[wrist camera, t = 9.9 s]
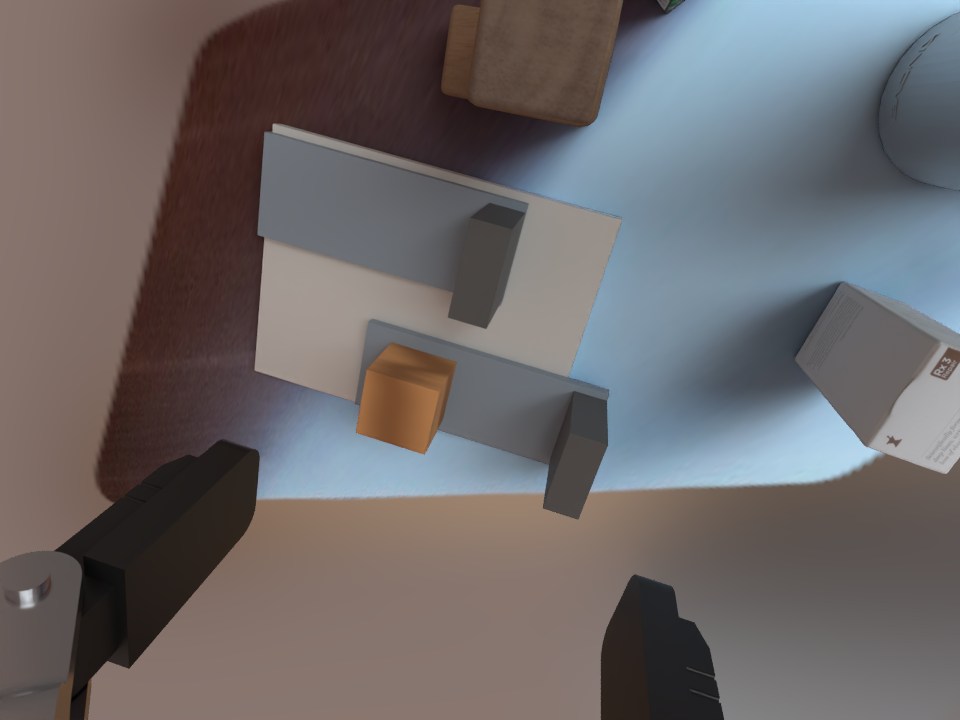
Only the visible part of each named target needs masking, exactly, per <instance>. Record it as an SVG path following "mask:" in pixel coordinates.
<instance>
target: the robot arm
mask: <svg viewBox="0 0 960 720" xmlns="http://www.w3.org/2000/svg"><path fill="white" fill-rule="evenodd" d="M878 118H879V134H880V138H881V141H882V144H883V147H884V150H885V152H886V153H887V155H888V156H889V158H890V160H891V161H892V163H893V164H894V165H895V166H896V167H897V168H899V169H900V170H901V171H902V172H903V173H904V174H906V175H907V176H909V177H911V178H913V179H915V180H917V181H919V182H923V183H927V184H931V185H935V186H939V187H944V188H949V189H953V190H958V191H960V12H959V13H957V14H954V15H952V16H950V17H949V18H947V19H946V20H944V21H942V22H941V23H939V24H937V25H936V26H934V27H932V28H931V29H930V30H929V31H928V32H927V33H925V34H924V35H923V36H922V37H921V38H920V39H918V40H917V41H916V42H915V43H914V44H913V45H912V46H911V48H910V49H909V50H908V51H907V52H906V53H905V55H904V56H903V57H902V58H901V59H900V61H899V62H898V64H897V66H896V67H895V69H894V71H893V72H892V74H891V76H890V77H889V79H888V82H887V85H886V87H885V90H884V92H883V95H882V98H881V104H880V110H879V116H878ZM259 460H260V456H259V452H258V451H257V450H255V449H252V448H249V447H246V446H243V445H240V444H237V443H234V442H231V441H228V440H224V439H223V440H220V441H218V442H216V443H215V444H214V445H213V446H212V447H210V448H209V449H208V450H207V451H206V452H205V453H203V454H202V455H201V456H200V457H199V458H198V457H195V456H192V455H186V456H184V457H182V458H179V459H177V460H174V461H172V462H169V463H167V464H164V465H162V466H161V467H160V468H158V469H157V470H156V471H154V472H153V473H152V474H151V475H149V476H148V477H147V478H146V479H144V480H143V481H142V483H141V485H137V486H136V487H134V488H133V489H132V490H131V491H129V492H128V493H127V494H126V495H125V497H124V498H120V499H119V500H118V501H117V502H115V503H114V504H113V505H112V506H110V507H109V508H108V509H107V510H105V511H104V512H103V513H102V514H100V515H99V516H98V517H97V518H95V519H94V520H93V521H92V522H90V523H89V524H88V525H86V526H85V527H84V528H83V529H81V530H80V531H79V532H78V533H76V534H75V535H74V536H73V537H71V538H70V539H69V540H68V541H66V542H65V543H64V544H63V545H61V546H60V547H59V548H58V549H56V550H55V551H36V552H30V553H25V554H22V555H18V556H15V557H12V558H10V559H7V560H5V561H3V562H1V563H0V720H88V714H89V704H90V694H91V678H92V677H93V676H94V675H95V673H96V672H97V671H98V670H99V669H100V668H101V667H102V666H103V664H105V662H106V661H109V662H112V663H115V664H118V665H121V666H123V667H126V668H130V667H131V666H132V665H133V664H134V662H135V661H136V660H137V659H138V658H139V657H140V655H141V654H142V653H143V652H144V650H146V648H147V647H148V646H149V645H150V644H151V643H152V641H153V640H154V639H155V638H156V637H157V635H158V634H159V633H160V632H161V631H162V630H163V628H164V627H165V626H166V625H167V624H168V622H169V621H170V620H171V619H172V618H173V617H174V616H175V614H176V613H177V612H178V611H179V610H180V609H181V607H182V606H183V605H184V604H185V603H186V601H187V600H188V599H189V598H190V597H191V596H192V594H193V593H194V592H195V591H196V590H197V589H198V588H199V586H200V585H201V584H202V583H203V582H204V581H205V579H206V578H207V577H208V576H209V575H210V574H211V572H212V571H213V570H214V569H215V568H216V566H217V565H218V564H219V563H220V562H221V561H222V559H223V558H224V557H225V556H226V555H227V554H228V552H229V551H230V550H231V549H232V548H233V547H234V545H235V544H236V543H237V542H238V541H239V540H240V538H241V537H242V536H243V535H244V533H245V532H246V530H247V528H248V527H249V525H250V522H251V520H252V518H253V515H254V511H255V506H256V495H257V484H258V472H259ZM714 677H715V673H714V668H713V663H712V659H711V653H710V649H709V647H708V645H707V644H706V642H705V640H704V638H703V637H702V635H701V633H700V631H699V630H698V628H697V627H696V625H695V623H694V622H691V621H688V620H685V619H682V618H679V616H678V610H677V603H676V597H675V592H674V589H673V587H672V586H669V585H666V584H663V583H660V582H657V581H654V580H651V579H648V578H645V577H642V576H638V575H633V576H632V577H631V579H630V580H629V582H628V584H627V586H626V589H625V591H624V593H623V596H622V597H621V599H620V601H619V603H618V606H617V608H616V610H615V612H614V614H613V616H612V618H611V620H610V622H609V625H608V627H607V630H606V633H605V637H604V640H603V645H602V652H601V720H724V717H723V712H722V707H721V703H719V698H720V697H719V693H718V687H717V682H716V680H714Z"/></svg>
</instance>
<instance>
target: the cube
mask: <svg viewBox="0 0 960 720" xmlns="http://www.w3.org/2000/svg"><path fill="white" fill-rule="evenodd" d="M456 364H457V362H455V361H452V360H449V359H446V358H442V357H439V356H436V355H432V354H429V353H426V352H422V351H419V350H416V349H413V348H409V347H406V346H403V345H399V344H396V343H393V342H392V343H391V344H390V345H389V346H388V347H387V348H386V349H385V350H384V351H383V352H382V353H381V354H380V356H379V357H378V358H377V359H376V360H375V361H374V362H373V363H372V364H371V365H370V366H369V367H368V368H367V370H366V376H365V382H364V388H363V394H362V400H361V406H360V411H359V417H358V423H357V429H356V433H358V434H362V435H365V436H368V437H371V438H374V439H377V440H380V441H384V442H387V443H390V444H393V445H396V446H399V447H402V448H406V449H409V450H412V451H415V452H418V453H421V454H424V455H425V453H426V451H427V449H428V447H429V445H430V443H431V442H432V440H433V438H434V436H435V434H436V432H437V430H438V428H439V426H440V424H441V422H442V420H443V417H444V413H445V409H446V405H447V401H448V397H449V393H450V389H451V384H452V380H453V376H454V372H455V368H456Z"/></svg>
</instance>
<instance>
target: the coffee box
mask: <svg viewBox="0 0 960 720" xmlns="http://www.w3.org/2000/svg"><path fill="white" fill-rule="evenodd" d="M684 1H685V0H657V2H658V3H659V5H660V6H661V8H662V9H663V11H664V12H665V14H668V13H669V12H671V11H672V10H673V9H675V8H676V7H677V6H678V5H680V4H681V3H682V2H684Z"/></svg>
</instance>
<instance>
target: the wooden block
mask: <svg viewBox="0 0 960 720" xmlns="http://www.w3.org/2000/svg"><path fill="white" fill-rule="evenodd" d="M622 4H623V0H481V5H480V8H479V7H473V6H466V5H460V4H459V5H456V6H454V7H453V9H452V11H451V15H450V22H449V30H448V37H447V44H446V51H445V59H444V66H443V73H442V81H441V90H442V92H443V93H444V94H446V95H448V96H453V97H458V98H463V99H468V100H469V102H471V103H472V104H474V105H475V106H477V107H482V108H487V109H492V110H497V111H502V112H507V113H512V114H517V115H522V116H527V117H532V118H537V119H542V120H547V121H552V122H557V123H562V124H567V125H572V126H577V127H583V126H587V125H590V124H591V123H593V122H594V121H595V119H596V118H597V116H598V112H599V108H600V103H601V99H602V95H603V91H604V87H605V83H606V79H607V75H608V71H609V67H610V63H611V58H612V54H613V50H614V45H615V40H616V35H617V30H618V24H619V19H620V14H621V9H622Z"/></svg>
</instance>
